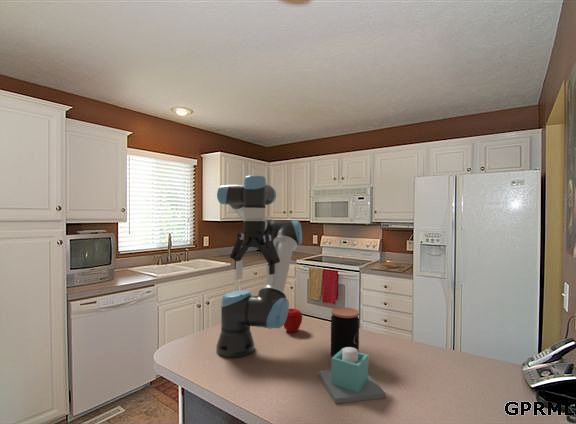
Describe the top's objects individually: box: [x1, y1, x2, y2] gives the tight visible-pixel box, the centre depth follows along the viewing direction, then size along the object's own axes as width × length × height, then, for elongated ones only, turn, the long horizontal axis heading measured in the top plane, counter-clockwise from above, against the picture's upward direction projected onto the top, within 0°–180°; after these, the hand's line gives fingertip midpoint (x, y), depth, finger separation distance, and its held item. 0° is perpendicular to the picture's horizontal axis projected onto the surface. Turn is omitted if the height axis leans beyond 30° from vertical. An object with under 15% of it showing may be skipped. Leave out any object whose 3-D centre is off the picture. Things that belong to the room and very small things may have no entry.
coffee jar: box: [330, 306, 360, 358], centre depth 120 cm, size 11×11×18 cm
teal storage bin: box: [330, 348, 369, 392], centre depth 100 cm, size 9×9×8 cm
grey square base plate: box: [318, 347, 386, 404], centre depth 100 cm, size 16×16×12 cm
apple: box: [283, 308, 303, 333], centre depth 147 cm, size 10×10×11 cm
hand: (253, 281), depth 108 cm, fingers open, 13 cm apart
